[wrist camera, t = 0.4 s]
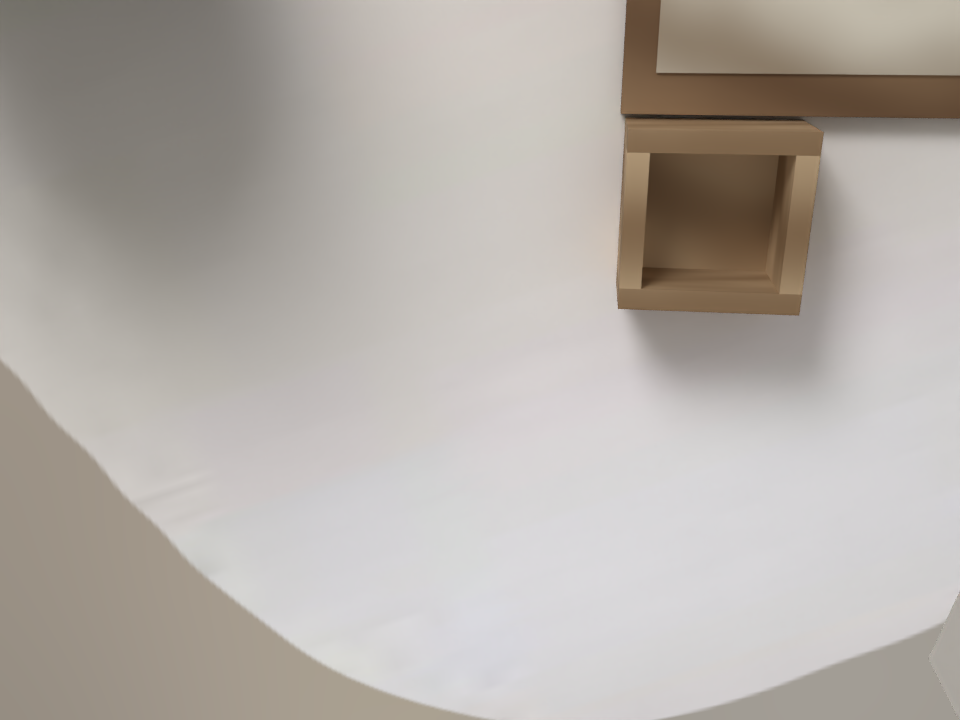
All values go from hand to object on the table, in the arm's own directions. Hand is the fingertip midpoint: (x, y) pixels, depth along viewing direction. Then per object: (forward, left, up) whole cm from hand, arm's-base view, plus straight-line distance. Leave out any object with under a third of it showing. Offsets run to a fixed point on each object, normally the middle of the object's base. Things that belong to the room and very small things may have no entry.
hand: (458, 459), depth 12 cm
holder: (+2, +6, -26) cm, 27 cm away
